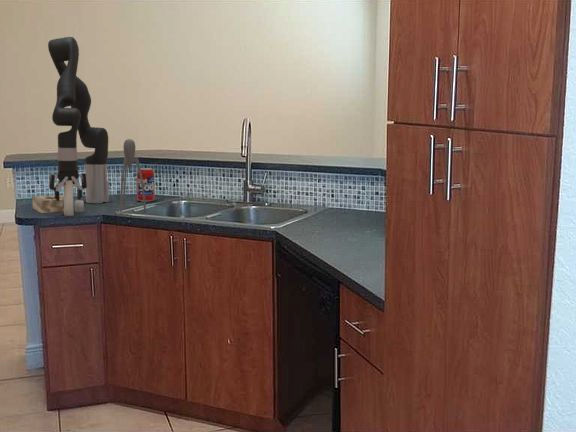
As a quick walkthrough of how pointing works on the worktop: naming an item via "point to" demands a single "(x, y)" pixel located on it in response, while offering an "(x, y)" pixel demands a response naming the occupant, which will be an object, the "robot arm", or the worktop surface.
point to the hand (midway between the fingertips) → (68, 199)
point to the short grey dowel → (79, 206)
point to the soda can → (146, 185)
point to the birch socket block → (48, 204)
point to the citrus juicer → (128, 160)
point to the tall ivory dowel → (68, 198)
